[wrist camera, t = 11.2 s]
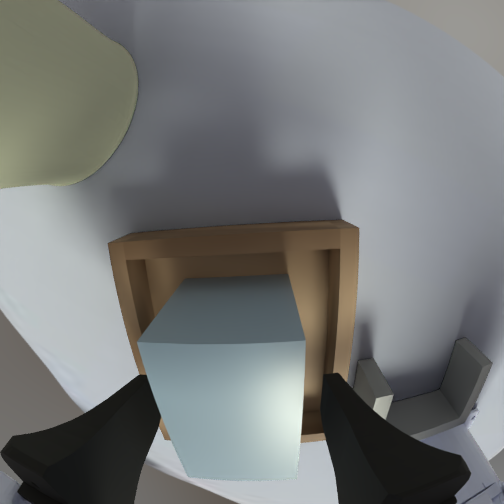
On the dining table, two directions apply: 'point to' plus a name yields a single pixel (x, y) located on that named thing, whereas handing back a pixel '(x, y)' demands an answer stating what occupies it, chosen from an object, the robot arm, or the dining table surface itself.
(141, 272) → the tray
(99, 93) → the can
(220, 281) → the pale blue cuboid
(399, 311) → the dining table surface
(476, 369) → the bay
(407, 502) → the robot arm
